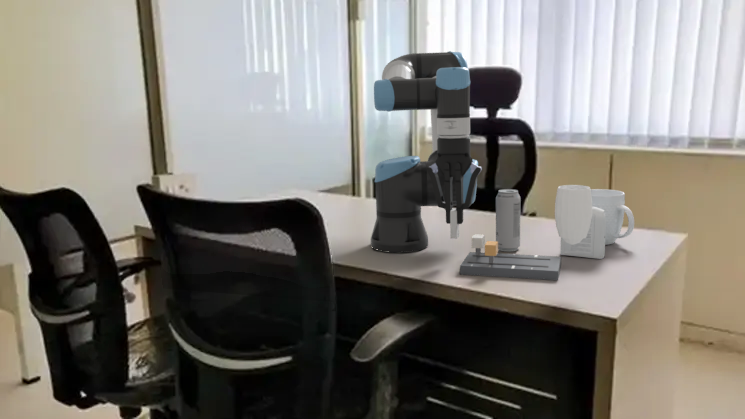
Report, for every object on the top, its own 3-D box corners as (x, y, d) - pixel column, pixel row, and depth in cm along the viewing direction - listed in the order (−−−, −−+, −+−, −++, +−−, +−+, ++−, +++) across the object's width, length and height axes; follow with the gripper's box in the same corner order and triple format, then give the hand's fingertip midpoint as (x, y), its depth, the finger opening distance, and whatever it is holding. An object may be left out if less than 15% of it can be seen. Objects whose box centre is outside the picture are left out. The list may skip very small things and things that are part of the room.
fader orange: (484, 263, 144) (484, 244, 143) (487, 259, 147) (487, 241, 147) (495, 264, 143) (495, 245, 142) (498, 260, 147) (498, 241, 146)
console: (460, 274, 145) (459, 265, 145) (469, 259, 156) (469, 251, 156) (557, 280, 138) (558, 270, 138) (560, 264, 150) (561, 255, 149)
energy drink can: (499, 245, 169) (500, 188, 166) (522, 247, 166) (523, 189, 163) (492, 250, 164) (492, 192, 161) (516, 253, 161) (516, 193, 158)
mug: (645, 245, 164) (648, 194, 161) (617, 252, 158) (620, 199, 156) (596, 235, 176) (597, 187, 174) (568, 241, 170) (570, 192, 168)
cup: (563, 294, 130) (565, 191, 126) (547, 283, 137) (548, 185, 133) (596, 290, 131) (600, 188, 127) (579, 280, 138) (581, 183, 134)
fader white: (471, 255, 151) (471, 237, 150) (474, 251, 154) (474, 234, 153) (482, 256, 150) (481, 238, 149) (484, 252, 153) (484, 234, 153)
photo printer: (606, 255, 156) (607, 205, 153) (603, 260, 152) (604, 208, 150) (562, 251, 161) (563, 202, 158) (558, 256, 157) (559, 205, 155)
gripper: (421, 138, 147) (423, 239, 151) (479, 137, 143) (479, 242, 147) (429, 135, 154) (431, 232, 158) (484, 134, 150) (485, 234, 154)
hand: (454, 237), depth 153 cm, fingers closed
